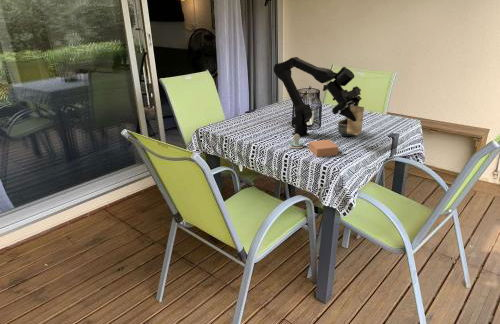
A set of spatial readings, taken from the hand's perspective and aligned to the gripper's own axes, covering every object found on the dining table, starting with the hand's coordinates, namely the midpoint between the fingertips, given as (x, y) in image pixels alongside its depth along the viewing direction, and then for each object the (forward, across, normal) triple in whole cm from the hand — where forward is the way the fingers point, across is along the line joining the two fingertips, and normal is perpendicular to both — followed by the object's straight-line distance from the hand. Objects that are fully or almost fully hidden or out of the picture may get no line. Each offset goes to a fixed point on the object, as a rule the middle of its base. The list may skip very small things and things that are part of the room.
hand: (358, 119), depth 167 cm
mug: (+1, +14, +18) cm, 23 cm away
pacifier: (-6, -16, +26) cm, 31 cm away
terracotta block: (+3, -14, +16) cm, 22 cm away
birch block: (+4, 0, +6) cm, 7 cm away
